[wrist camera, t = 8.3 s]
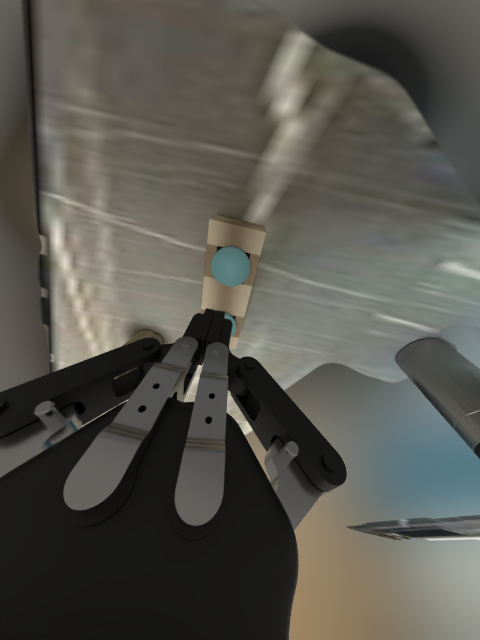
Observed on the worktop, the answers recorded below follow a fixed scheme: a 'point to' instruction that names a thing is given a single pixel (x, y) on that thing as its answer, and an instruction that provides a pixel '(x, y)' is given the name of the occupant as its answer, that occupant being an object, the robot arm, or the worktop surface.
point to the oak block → (231, 297)
